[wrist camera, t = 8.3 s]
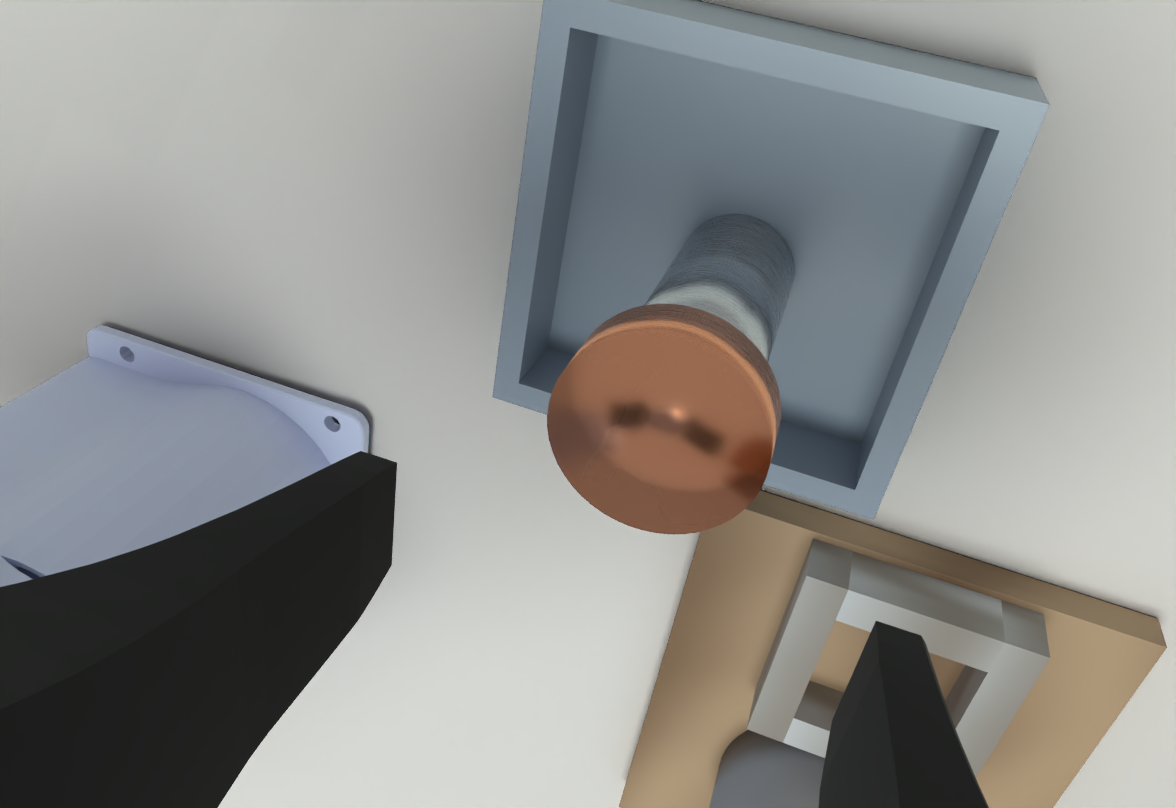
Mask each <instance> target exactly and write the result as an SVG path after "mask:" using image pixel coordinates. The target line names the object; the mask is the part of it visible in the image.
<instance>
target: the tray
mask: <svg viewBox="0 0 1176 808" xmlns="http://www.w3.org/2000/svg"><path fill="white" fill-rule="evenodd" d="M1049 105H1050V104H1049V102H1048V100H1047V98H1046V96H1045V94H1044V92H1043V90H1042V88H1041V86H1040V84H1039V82H1038V80H1037V78H1034V77H1030V76H1025V75H1021V74H1017V73H1012V72H1008V71H1004V70H999V69H995V68H990V67H986V66H982V65H977V64H973V63H969V62H964V61H960V60H956V59H951V58H947V57H942V56H938V55H934V54H929V53H925V52H921V51H916V50H912V49H908V48H903V47H899V46H894V45H890V44H886V43H881V42H877V41H873V40H868V39H864V38H859V37H855V36H851V35H846V34H842V33H838V32H833V31H829V30H825V29H820V28H816V27H811V26H807V25H803V24H798V23H794V22H790V21H785V20H781V19H777V18H772V17H768V16H763V15H759V14H755V13H750V12H746V11H742V10H737V9H733V8H729V7H724V6H720V5H715V4H711V3H707V2H702V1H698V0H544V1H543V8H542V16H541V24H540V32H539V39H538V47H537V55H536V63H535V71H534V78H533V86H532V94H531V102H530V109H529V117H528V125H527V133H526V141H525V148H524V156H523V164H522V172H521V179H520V187H519V195H518V203H517V210H516V218H515V226H514V234H513V242H512V249H511V257H510V265H509V273H508V280H507V288H506V296H505V304H504V312H503V319H502V327H501V335H500V343H499V350H498V358H497V366H496V374H495V381H494V389H493V397H494V398H497V399H500V400H503V401H506V402H509V403H512V404H516V405H519V406H522V407H525V408H528V409H531V410H534V411H537V412H540V413H543V414H547V413H548V406H549V400H550V397H551V394H552V390H553V388H554V386H555V384H556V382H557V380H558V378H559V377H560V375H561V374H562V372H563V371H564V369H565V368H566V367H567V365H568V364H569V362H570V361H571V360H572V358H573V357H574V356H575V354H576V353H577V352H578V350H579V349H580V347H581V346H582V345H583V343H584V342H585V341H586V339H587V338H588V337H589V336H590V334H591V333H592V332H593V331H594V330H595V329H596V328H597V327H598V326H600V325H601V324H602V323H604V322H605V321H606V320H608V319H609V318H611V317H613V316H615V315H616V314H618V313H621V312H623V311H626V310H628V309H631V308H635V307H639V306H643V305H645V303H646V302H647V300H648V299H649V297H650V295H651V294H652V292H653V291H654V289H655V288H656V286H657V285H658V283H659V282H660V280H661V279H662V277H663V276H664V274H665V273H666V271H667V269H668V268H669V266H670V265H671V263H672V262H673V260H674V259H675V257H676V256H677V254H678V253H679V251H680V250H681V248H682V247H683V245H684V243H685V242H686V240H687V239H688V238H689V236H690V235H691V233H692V232H693V231H694V230H695V229H696V228H697V227H699V226H700V225H701V224H702V223H704V222H706V221H707V220H709V219H712V218H714V217H717V216H720V215H725V214H746V215H750V216H754V217H757V218H759V219H762V220H763V221H765V222H767V223H769V224H770V225H771V226H773V227H774V228H775V229H776V230H777V231H778V232H779V233H780V234H781V235H782V236H783V237H784V239H785V240H786V242H787V243H788V245H789V247H790V250H791V252H792V255H793V259H794V265H795V275H794V281H793V285H792V288H791V291H790V295H789V298H788V301H787V304H786V307H785V310H784V314H783V317H782V320H781V323H780V326H779V329H778V333H777V336H776V339H775V342H774V345H773V348H772V352H771V355H770V358H769V361H768V363H769V365H770V367H771V369H772V372H773V374H774V376H775V378H776V382H777V385H778V388H779V393H780V399H781V421H780V428H779V432H778V436H777V440H776V444H775V448H774V451H773V455H772V459H771V463H770V467H769V470H768V473H767V477H766V480H765V482H764V485H767V486H770V487H773V488H776V489H779V490H782V491H786V492H789V493H792V494H795V495H798V496H801V497H804V498H807V499H810V500H814V501H817V502H820V503H823V504H826V505H829V506H832V507H835V508H838V509H841V510H845V511H848V512H851V513H854V514H857V515H860V516H863V517H866V518H869V519H874V517H875V515H876V512H877V510H878V508H879V505H880V503H881V501H882V498H883V496H884V494H885V491H886V489H887V486H888V484H889V482H890V479H891V477H892V475H893V472H894V470H895V468H896V465H897V463H898V461H899V458H900V456H901V453H902V451H903V449H904V446H905V444H906V442H907V439H908V437H909V435H910V432H911V430H912V428H913V425H914V423H915V421H916V418H917V416H918V413H919V411H920V409H921V406H922V404H923V402H924V399H925V397H926V395H927V392H928V390H929V388H930V385H931V383H932V380H933V378H934V376H935V373H936V371H937V369H938V366H939V364H940V362H941V359H942V357H943V355H944V352H945V350H946V348H947V345H948V343H949V340H950V338H951V336H952V333H953V331H954V329H955V326H956V324H957V322H958V319H959V317H960V315H961V312H962V310H963V307H964V305H965V303H966V300H967V298H968V296H969V293H970V291H971V289H972V286H973V284H974V282H975V279H976V277H977V275H978V272H979V270H980V267H981V265H982V263H983V260H984V258H985V256H986V253H987V251H988V249H989V246H990V244H991V242H992V239H993V237H994V234H995V232H996V230H997V227H998V225H999V223H1000V220H1001V218H1002V216H1003V213H1004V211H1005V209H1006V206H1007V204H1008V202H1009V199H1010V197H1011V194H1012V192H1013V190H1014V187H1015V185H1016V183H1017V180H1018V178H1019V176H1020V173H1021V171H1022V169H1023V166H1024V164H1025V161H1026V159H1027V157H1028V154H1029V152H1030V150H1031V147H1032V145H1033V143H1034V140H1035V138H1036V136H1037V133H1038V131H1039V129H1040V126H1041V124H1042V121H1043V119H1044V117H1045V114H1046V112H1047V110H1048V107H1049Z"/></svg>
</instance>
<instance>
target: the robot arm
mask: <svg viewBox="0 0 1176 808" xmlns="http://www.w3.org/2000/svg"><path fill="white" fill-rule="evenodd" d="M87 347H88V354H89V357H88V358H86V359H84V360H83V361H81V362H79V363H77V364H76V365H74V366H72V367H70V368H68V369H67V370H65V371H63V372H61V373H60V374H58V375H56V376H54V377H53V378H51V379H49V380H47V381H46V382H44V383H42V384H40V385H39V386H37V387H35V388H33V389H32V390H30V391H28V392H26V393H25V394H23V395H21V396H19V397H17V398H16V399H14V400H12V401H10V402H9V403H7V404H5V405H3V406H2V407H0V808H217V807H218V806H219V804H220V803H221V801H222V800H223V798H224V797H225V795H226V794H227V792H228V790H229V789H230V787H231V786H232V784H233V783H234V781H235V780H236V778H237V777H238V775H239V774H240V772H241V770H242V769H243V767H244V766H245V764H246V763H247V761H248V760H249V758H250V757H251V755H252V754H253V753H254V751H255V750H256V749H257V747H258V746H259V745H260V743H261V742H262V741H263V739H264V738H265V736H266V735H267V734H268V732H269V731H270V730H271V729H272V727H273V726H274V725H275V724H276V722H277V721H278V720H279V719H280V717H281V716H282V715H283V714H284V713H285V711H286V710H287V709H288V708H289V706H290V705H291V704H292V703H293V701H294V700H295V699H296V698H297V696H298V695H299V694H300V693H301V691H302V690H303V689H304V688H305V686H306V685H307V684H308V683H309V681H310V680H311V679H312V678H313V677H314V675H315V674H316V673H317V672H318V670H319V669H320V668H321V667H322V665H323V664H324V663H325V662H326V660H327V659H328V658H329V657H330V655H331V654H332V653H333V652H334V650H335V649H336V648H337V647H338V645H339V644H340V643H341V641H342V640H343V639H344V638H345V636H346V635H347V634H348V633H349V631H350V630H351V629H352V627H353V626H354V625H355V624H356V622H357V621H358V620H359V618H360V617H361V615H362V613H363V612H364V610H365V609H366V607H367V605H368V604H369V602H370V601H371V599H372V597H373V596H374V594H375V592H376V591H377V589H378V587H379V586H380V584H381V582H382V580H383V579H384V577H385V575H386V574H387V572H388V570H389V568H390V567H391V565H392V546H393V527H394V508H395V489H396V470H397V463H396V462H393V461H390V460H387V459H384V458H381V457H378V456H375V455H372V454H369V453H368V445H369V424H368V421H367V419H366V418H365V416H364V415H363V414H362V413H361V412H359V411H357V410H355V409H353V408H350V407H347V406H344V405H341V404H338V403H335V402H332V401H329V400H326V399H323V398H320V397H317V396H314V395H311V394H308V393H305V392H302V391H299V390H296V389H293V388H290V387H287V386H284V385H281V384H278V383H275V382H272V381H269V380H266V379H263V378H260V377H257V376H254V375H251V374H248V373H245V372H242V371H239V370H236V369H233V368H230V367H227V366H224V365H221V364H218V363H215V362H212V361H209V360H206V359H203V358H200V357H197V356H194V355H191V354H188V353H185V352H182V351H179V350H176V349H173V348H170V347H167V346H164V345H161V344H158V343H155V342H152V341H149V340H146V339H143V338H140V337H137V336H134V335H131V334H128V333H125V332H122V331H119V330H116V329H113V328H110V327H107V326H102V325H100V326H97V327H95V328H93V329H92V330H90V331H89V332H88V333H87ZM130 350H131V351H132V352H133V353H132V352H131V351H130ZM332 416H333V417H334V418H336V419H337V420H338V421H339V423H340V425H339V424H337V423H335V421H334V420H333V419H332ZM819 808H989V806H988V804H987V802H986V800H985V798H984V795H983V793H982V791H981V789H980V787H979V784H978V782H977V780H976V777H975V775H974V773H973V770H972V768H971V765H970V763H969V761H968V758H967V756H966V754H965V751H964V749H963V746H962V744H961V742H960V739H959V737H958V734H957V731H956V729H955V726H954V724H953V721H952V718H951V716H950V713H949V710H948V708H947V705H946V702H945V699H944V697H943V694H942V691H941V688H940V685H939V682H938V679H937V676H936V673H935V670H934V667H933V664H932V661H931V658H930V655H929V652H928V649H927V645H926V643H925V641H924V640H923V638H922V636H921V635H918V634H915V633H912V632H909V631H906V630H903V629H900V628H897V627H894V626H891V625H888V624H885V623H882V622H879V621H875V624H874V626H873V628H872V631H871V633H870V635H869V637H868V640H867V642H866V644H865V646H864V649H863V651H862V653H861V656H860V658H859V660H858V662H857V665H856V667H855V669H854V671H853V674H852V676H851V678H850V681H849V683H848V685H847V687H846V690H845V692H844V694H843V696H842V699H841V701H840V703H839V706H838V708H837V710H836V712H835V715H834V717H833V719H832V723H831V729H830V734H829V739H828V745H827V750H826V756H825V761H824V767H823V773H822V779H821V785H820V794H819Z"/></svg>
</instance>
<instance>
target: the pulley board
mask: <svg viewBox="0 0 1176 808" xmlns="http://www.w3.org/2000/svg"><path fill="white" fill-rule="evenodd" d="M875 621H879V622H882V623H885V624H888V625H891V626H894V627H897V628H900V629H903V630H906V631H909V632H912V633H915V634H918V635H921V636H922V638H923V640H924V641H925V643H926V645H927V649H928V652H929V655H930V658H931V661H932V664H933V667H934V670H935V673H936V676H937V679H938V682H939V685H940V688H941V691H942V694H943V697H944V699H945V702H946V705H947V708H948V710H949V713H950V716H951V718H952V721H953V724H954V726H955V729H956V731H957V734H958V737H959V739H960V742H961V744H962V746H963V749H964V751H965V754H966V756H967V758H968V761H969V763H970V765H971V768H972V770H973V773H974V775H975V777H976V780H977V782H978V784H979V787H980V789H981V791H982V793H983V795H984V798H985V800H986V802H987V804H988V806H989V808H1053V807H1054V805H1055V804H1056V803H1057V801H1058V800H1059V798H1060V797H1061V796H1062V794H1063V793H1064V791H1065V790H1066V788H1067V787H1068V786H1069V784H1070V783H1071V781H1072V780H1073V779H1074V777H1075V776H1076V774H1077V773H1078V772H1079V770H1080V769H1081V767H1082V766H1083V765H1084V763H1085V762H1086V760H1087V759H1088V758H1089V756H1090V755H1091V753H1092V752H1093V751H1094V749H1095V748H1096V746H1097V745H1098V744H1099V742H1100V741H1101V739H1102V738H1103V736H1104V735H1105V734H1106V732H1107V731H1108V729H1109V728H1110V727H1111V725H1112V724H1113V722H1114V721H1115V720H1116V718H1117V717H1118V715H1119V714H1120V713H1121V711H1122V710H1123V708H1124V707H1125V706H1126V704H1127V703H1128V701H1129V700H1130V699H1131V697H1132V696H1133V694H1134V693H1135V692H1136V690H1137V689H1138V687H1139V686H1140V684H1141V683H1142V682H1143V680H1144V679H1145V677H1146V676H1147V675H1148V673H1149V672H1150V670H1151V669H1152V668H1153V666H1154V665H1155V663H1156V662H1157V661H1158V659H1159V658H1160V656H1161V655H1162V654H1163V652H1164V651H1165V649H1166V648H1167V646H1166V643H1165V640H1164V636H1163V633H1162V630H1161V626H1160V623H1159V620H1158V619H1157V618H1154V617H1151V616H1147V615H1144V614H1141V613H1138V612H1135V611H1132V610H1129V609H1126V608H1123V607H1120V606H1117V605H1113V604H1110V603H1107V602H1104V601H1101V600H1098V599H1095V598H1092V597H1089V596H1086V595H1083V594H1079V593H1076V592H1073V591H1070V590H1067V589H1064V588H1061V587H1058V586H1055V585H1052V584H1049V583H1045V582H1042V581H1039V580H1036V579H1033V578H1030V577H1027V576H1024V575H1021V574H1018V573H1015V572H1011V571H1008V570H1005V569H1002V568H999V567H996V566H993V565H990V564H987V563H984V562H981V561H977V560H974V559H971V558H968V557H965V556H962V555H959V554H956V553H953V552H950V551H947V550H943V549H940V548H937V547H934V546H931V545H928V544H925V543H922V542H919V541H916V540H913V539H909V538H906V537H903V536H900V535H897V534H894V533H891V532H888V531H885V530H882V529H879V528H875V527H872V526H869V525H866V524H863V523H860V522H857V521H854V520H851V519H848V518H845V517H841V516H838V515H835V514H832V513H829V512H826V511H823V510H820V509H817V508H814V507H811V506H807V505H804V504H801V503H798V502H795V501H792V500H789V499H786V498H783V497H780V496H777V495H773V494H770V493H767V492H764V491H761V490H760V491H759V493H758V494H757V496H756V497H755V498H754V500H753V501H752V502H751V503H750V504H749V505H748V506H747V507H746V508H745V509H744V510H743V511H742V512H741V513H739V514H738V515H737V516H735V517H734V518H732V519H730V520H729V521H727V522H725V523H723V524H721V525H719V526H716V527H714V528H711V529H708V530H704V531H701V533H700V536H699V540H698V543H697V546H696V550H695V553H694V556H693V560H692V563H691V566H690V570H689V573H688V576H687V580H686V583H685V586H684V590H683V593H682V597H681V600H680V603H679V607H678V610H677V613H676V617H675V620H674V623H673V627H672V630H671V633H670V637H669V640H668V643H667V647H666V650H665V653H664V657H663V660H662V664H661V667H660V670H659V674H658V677H657V680H656V684H655V687H654V690H653V694H652V697H651V700H650V704H649V707H648V710H647V714H646V717H645V720H644V724H643V727H642V730H641V734H640V737H639V741H638V744H637V747H636V751H635V754H634V757H633V761H632V764H631V767H630V771H629V774H628V777H627V781H626V784H625V787H624V791H623V794H622V797H621V801H620V804H619V807H621V808H819V794H820V785H821V779H822V773H823V767H824V761H825V756H826V750H827V745H828V739H829V734H830V729H831V723H832V719H833V717H834V715H835V712H836V710H837V708H838V706H839V703H840V701H841V699H842V696H843V694H844V692H845V690H846V687H847V685H848V683H849V681H850V678H851V676H852V674H853V671H854V669H855V667H856V665H857V662H858V660H859V658H860V656H861V653H862V651H863V649H864V646H865V644H866V642H867V640H868V637H869V635H870V633H871V631H872V628H873V626H874V624H875Z"/></svg>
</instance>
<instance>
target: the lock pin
mask: <svg viewBox="0 0 1176 808" xmlns="http://www.w3.org/2000/svg"><path fill="white" fill-rule="evenodd" d="M794 275H795V265H794V259H793V255H792V252H791V250H790V247H789V245H788V243H787V242H786V240H785V239H784V237H783V236H782V235H781V234H780V233H779V232H778V231H777V230H776V229H775V228H774V227H773V226H771V225H770V224H769V223H767V222H765V221H763V220H762V219H759V218H757V217H754V216H750V215H746V214H725V215H720V216H717V217H714V218H712V219H709V220H707V221H706V222H704V223H702V224H701V225H700V226H699V227H697V228H696V229H695V230H694V231H693V232H692V233H691V235H690V236H689V238H688V239H687V240H686V242H685V243H684V245H683V247H682V248H681V250H680V251H679V253H678V254H677V256H676V257H675V259H674V260H673V262H672V263H671V265H670V266H669V268H668V269H667V271H666V273H665V274H664V276H663V277H662V279H661V280H660V282H659V283H658V285H657V286H656V288H655V289H654V291H653V292H652V294H651V295H650V297H649V299H648V300H647V302H646V303H645V305H643V306H639V307H635V308H631V309H628V310H626V311H623V312H621V313H618V314H616V315H615V316H613V317H611V318H609V319H608V320H606V321H605V322H604V323H602V324H601V325H600V326H598V327H597V328H596V329H595V330H594V331H593V332H592V333H591V334H590V336H589V337H588V338H587V339H586V341H585V342H584V343H583V345H582V346H581V347H580V349H579V350H578V352H577V353H576V354H575V356H574V357H573V358H572V360H571V361H570V362H569V364H568V365H567V367H566V368H565V369H564V371H563V372H562V374H561V375H560V377H559V378H558V380H557V382H556V384H555V386H554V388H553V390H552V394H551V397H550V400H549V406H548V413H547V428H548V435H549V441H550V444H551V448H552V451H553V454H554V456H555V458H556V461H557V463H558V465H559V467H560V468H561V470H562V472H563V474H564V475H565V477H566V478H567V479H568V481H569V482H570V483H571V485H572V486H573V487H574V488H575V489H576V490H577V492H578V493H579V494H580V495H581V496H582V497H583V498H584V499H586V500H587V501H588V502H589V503H590V504H591V505H593V506H594V507H595V508H597V509H598V510H600V511H601V512H603V513H604V514H606V515H608V516H609V517H611V518H613V519H615V520H617V521H619V522H621V523H624V524H626V525H628V526H631V527H634V528H638V529H641V530H645V531H650V532H655V533H663V534H687V533H695V532H700V531H704V530H708V529H711V528H714V527H716V526H719V525H721V524H723V523H725V522H727V521H729V520H730V519H732V518H734V517H735V516H737V515H738V514H739V513H741V512H742V511H743V510H744V509H745V508H746V507H747V506H748V505H749V504H750V503H751V502H752V501H753V500H754V498H755V497H756V496H757V494H758V493H759V491H760V490H761V488H762V486H763V484H764V482H765V480H766V477H767V473H768V470H769V467H770V463H771V459H772V455H773V451H774V448H775V444H776V440H777V436H778V432H779V428H780V421H781V399H780V393H779V388H778V385H777V382H776V378H775V376H774V374H773V372H772V369H771V367H770V365H769V363H768V361H769V358H770V355H771V352H772V348H773V345H774V342H775V339H776V336H777V333H778V329H779V326H780V323H781V320H782V317H783V314H784V310H785V307H786V304H787V301H788V298H789V295H790V291H791V288H792V285H793V281H794Z"/></svg>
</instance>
